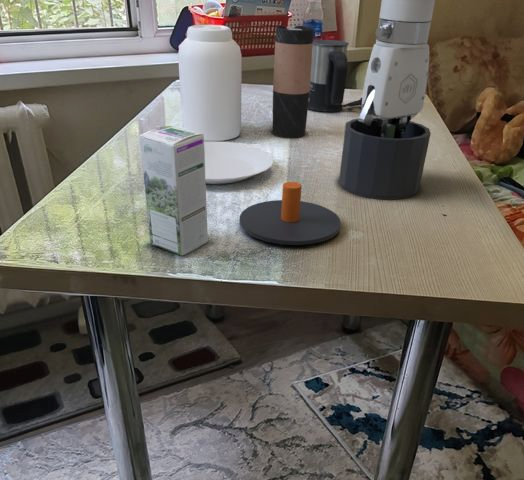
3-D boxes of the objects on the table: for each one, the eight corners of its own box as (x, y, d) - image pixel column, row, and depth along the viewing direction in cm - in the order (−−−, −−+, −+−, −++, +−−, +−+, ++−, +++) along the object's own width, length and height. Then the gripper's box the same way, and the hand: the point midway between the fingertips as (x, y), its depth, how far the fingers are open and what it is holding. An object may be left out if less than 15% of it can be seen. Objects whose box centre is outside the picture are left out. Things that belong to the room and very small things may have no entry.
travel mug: (295, 140, 115) (302, 31, 103) (264, 134, 118) (268, 27, 106) (312, 132, 120) (321, 27, 108) (282, 126, 123) (287, 24, 111)
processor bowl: (415, 175, 99) (426, 120, 94) (421, 202, 89) (433, 142, 83) (340, 169, 101) (347, 114, 95) (337, 195, 90) (344, 135, 84)
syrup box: (209, 242, 74) (206, 131, 66) (181, 257, 71) (173, 142, 62) (178, 231, 77) (170, 123, 68) (148, 245, 73) (137, 133, 64)
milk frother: (298, 106, 140) (302, 39, 131) (345, 100, 147) (352, 37, 138) (333, 119, 130) (340, 48, 122) (382, 111, 138) (392, 45, 129)
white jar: (252, 136, 116) (255, 28, 104) (204, 146, 110) (200, 31, 98) (218, 123, 124) (216, 21, 112) (171, 131, 117) (164, 23, 105)
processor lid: (341, 212, 84) (346, 172, 81) (337, 253, 73) (343, 209, 69) (248, 203, 86) (249, 164, 82) (230, 243, 74) (230, 199, 71)
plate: (198, 146, 109) (198, 135, 108) (292, 166, 101) (293, 153, 100) (131, 176, 94) (129, 163, 93) (235, 201, 87) (235, 187, 85)
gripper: (382, 40, 75) (363, 173, 86) (457, 34, 83) (431, 157, 94) (345, 33, 80) (331, 160, 91) (419, 28, 88) (398, 146, 98)
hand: (382, 158), depth 92 cm, fingers closed on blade, 2 cm apart
